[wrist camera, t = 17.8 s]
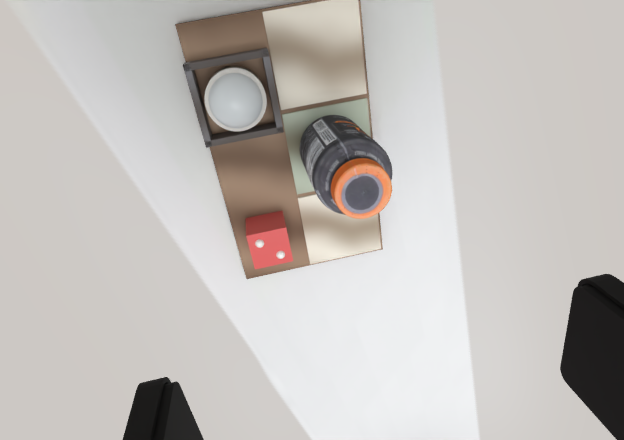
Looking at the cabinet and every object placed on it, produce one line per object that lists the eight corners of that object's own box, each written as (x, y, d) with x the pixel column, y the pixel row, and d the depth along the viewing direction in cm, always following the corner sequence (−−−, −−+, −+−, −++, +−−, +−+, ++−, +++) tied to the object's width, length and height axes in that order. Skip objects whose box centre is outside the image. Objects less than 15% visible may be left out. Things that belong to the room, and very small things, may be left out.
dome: (199, 71, 33) (194, 78, 29) (258, 60, 33) (260, 66, 30) (215, 130, 35) (212, 143, 31) (270, 119, 36) (273, 131, 32)
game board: (176, 24, 32) (171, 24, 30) (356, -8, 33) (366, -10, 31) (246, 273, 43) (247, 290, 41) (379, 244, 44) (388, 259, 42)
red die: (245, 218, 39) (246, 238, 36) (282, 210, 40) (286, 229, 36) (253, 249, 41) (255, 271, 38) (289, 242, 41) (293, 263, 38)
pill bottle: (375, 143, 38) (424, 188, 28) (331, 189, 39) (363, 248, 29) (330, 98, 36) (365, 131, 26) (284, 149, 37) (301, 199, 27)
